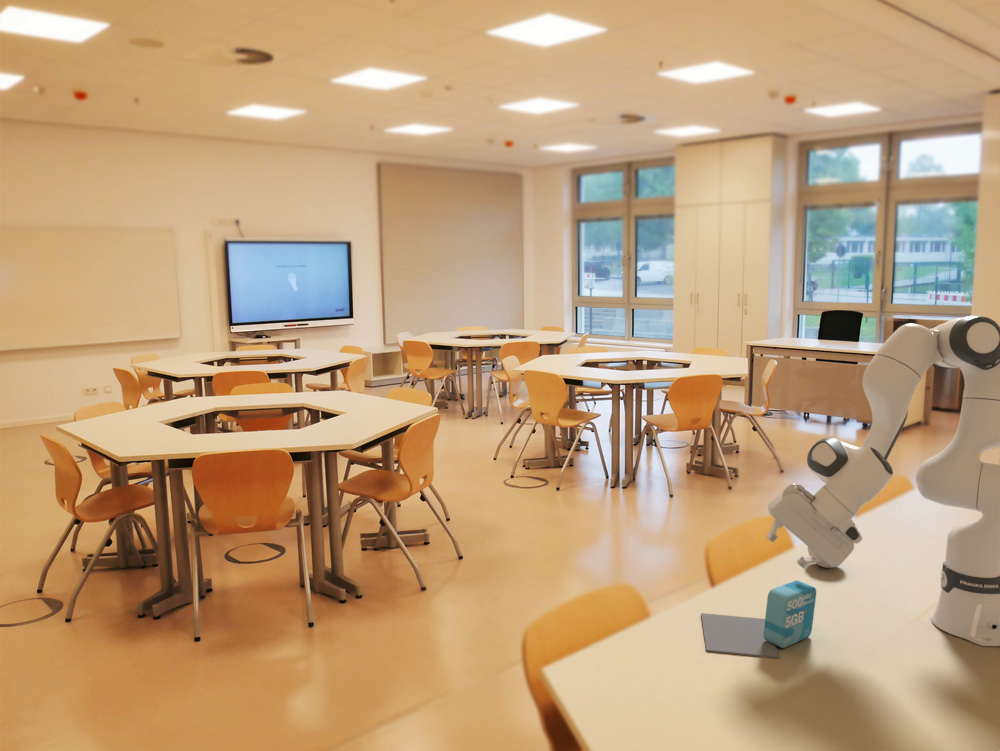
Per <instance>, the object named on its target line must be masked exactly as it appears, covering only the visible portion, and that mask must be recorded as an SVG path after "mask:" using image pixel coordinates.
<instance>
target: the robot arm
mask: <svg viewBox="0 0 1000 751" xmlns="http://www.w3.org/2000/svg"><path fill="white" fill-rule="evenodd" d="M931 367H934V368H939V369H945V370H946V369H959V370H960V371H961V373H962V376H963V380H964V389H963V393H962V401H961V409H960V415H959V419H958V425H957V428H956V431H955V433H954V436H953V437H952V439H951V441H950V442H949V443H948V445H947V446H945V448H943V449H942V450H941V451H940V452H939V453H937V454H936V455H933V456H932V457H929V458H927V459H926V460H925V461H923V462H922V463H921V465H919V467H918V469H917V471H916V475H915V484H916V488H917V491H918V492H919V495H921V496H922V498H924V499H926V500H929V501H931V502H934V503H937V504H940V505H943V506H946V507H954V508H959V509H965V510H971V511H972V510H973V511H977V512H980V513H981V515H982V516H981V517H980V518H979V519H977V520H974V521H969V522H964V523H961V524H958V525H956V526H954V527H952V528H951V529H950V531H949V532H948V533H947V538H946V545H945V546H946V549H945V556H944V557H945V560H944V562H943V563H942V567H941V573H940V588H941V590H940V593H939V598H938V601H937V605H936V608H935V610H934V612H933V613H932V614H933V615H932V616H931V622H932V623H933V625H934V626H936V627H937V628H938V629H940V630H941V631H944V632H946V633H948V634H949V635H953V636H956V637H959V638H961V639H965V640H967V641H970V642H971V643H974V644H975V645H978V646H982V647H1000V464H996V463H988V462H984V461H981V460H980V458H981V456H982V454H984V453H985V452H987V451H989V450H994V449H997V448H1000V325H999V324H998V323H997V321H996V320H993V319H991V318H990V317H988V316H987V317H986V316H984V315H983V316H982V315H967V316H965V317H958V318H952V319H950V320H947V321H946V322H944V323H941V324H936V325H933V326H931V327H927V326H924V325H922V324H918V323H911V322H910V323H905V324H902V325H900V326H899V327H898V328H897V329H895V330H894V332H892V334H891V335H889V337H888V338H887V339H886V340H885V341H884V342H883V344H882V345H881V346H880V348H879V349H878V350H877V351H876V353H874V356H873V357H872V359H871V360H870V362H869V363H868V365H867V366H866V368H865V370H864V372H863V375H862V379H861V380H862V381H861V382H862V384H861V385H862V389H863V393H864V396H865V397H866V399H867V401H868V404H869V407H870V411H871V415H872V416H871V417H872V418H871V419H872V420H871V426H870V429H869V431H868V432H867V435H866V436H865V438H864V440H863V443H862V444H861V446H855V445H854V444H853V445H852V444H849V443H847V442H845V441H843V440H840V439H837V438H835V437H825V438H822V439H820V440H817V441H816V442H815V443H814V444H813V445H812V446H811V448H810V449H809V451H808V453H807V458H806V462H807V467H809V469H810V471H812V473H813V474H814V475H815V476H817V477H818V478H819V479H820V480H821V481H822V482H823V483H824V485H823V486H822V487H821V488H820V489H819V490H817V492H815V493H814V494H812V493H811V492H809V491H808V490H806V489H805V487H804V486H803V485H801V484H796V483H791V484H789V485H788V486H787V487H786V488H784V490H783V492H781V493H779V495H777V496H776V497H775V498H774V499H772V500H771V501H770V502H769V503H768V504H767V511H768V513H769V514H770V516H772V517H773V518H774V520H773V521H772V524H771V529H770V530H769V531H768V532H767V533H766V534H765V537H766V538H767V540H769V541H770V542H772V543H774V542H775V540H777V539H778V538H779V536H778V535H777V531H778V529H782V528H783V527H785V529H787V530H788V531H789V532H790V533H792V534H793V535H794V536H795V537H796V538H797V539H799V540H800V541H801V542H802V543H803V544H805V545H806V547H807V548H808V547H809V548H810V549H812V550H813V551H814V552H813V553H812V555H813V556H810V555H809V556H808V557H804V556H801V557H800V558H799V559H798V560H797V564H798V566H800V567H801V568H802V569H805V568H807V567H808V566H809V565H811V564H816V562H819V561H820V560H821V559H823V560H825V561H826V562H827V563H828V564H829V565H831V566H832V567H833V568H835V567H834V566H837V567H839V566H840V565H842V564H843V563H842V562H844V561H845V560H846V559H848V557H849V556H850V555H851V554H852V552H853V551H854V549H855V544H859V543H860V542H861V541H862V540H863V536H862V534H861V532H860V531H859V530H858V527H857V526H856V523H855V522H854V521H853V518H854V517H855V516H856V515H857V514H858V513H859V511H860V509H861V508H862V507H863V506H864V505H866V504H868V503H870V502H871V501H872V500H873V499H875V498H876V496H878V495H879V494H880V493H881V492H882V491H883V490H884V489H885V488H886V486H887V485H888V484H889V482H890V481H891V480H892V477H893V475H894V472H893V468H892V465H891V464H890V462H888V458H889V456H890V455H891V452H892V449H893V448H894V447H895V444H896V442H897V440H898V439H899V436H900V434H901V432H902V430H903V428H904V426H905V424H906V421H907V418H908V414H909V407H910V403H911V400H912V398H913V395H914V393H915V391H916V389H917V387H918V386H919V383H920V382H921V381H922V379H923V378H924V375H925V374H926V373H927V372H928V370H929V369H930V368H931ZM841 563H842V564H841Z"/></svg>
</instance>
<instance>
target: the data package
mask: <svg viewBox="0 0 1000 751" xmlns="http://www.w3.org/2000/svg"><path fill="white" fill-rule="evenodd" d="M816 597H817V588H816V587H815V586H812V585H809V584H807V583H804V582H802V581H800V580H794V581H791V582H788V583H785V584H783V585H779V586H776V587H774V588H772V589H770V590H769V592H768V594H767V599H766V600H767V601H766V608H765V617H764V619H765V625H764V634H763V637H764V639H765V640H767V641H769V642H771V643H773V644H775V645H776V647H779V648H781V649H785V648H786V647H787V648H788V647H789V646H792V645H794V644H796V643H798V642H801V641H803V640H805V639H807V638H809V637H810V636H811V633H812V631H813V630H812V629H813V623H814V615H815V614H814V613H815V607H816V599H817V598H816Z"/></svg>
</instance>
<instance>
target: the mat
mask: <svg viewBox="0 0 1000 751" xmlns="http://www.w3.org/2000/svg"><path fill="white" fill-rule="evenodd" d="M700 617H701V623H702V629H703V638H704V643H705V651H706V652H708V653H709V652H710V653H720V654H729V655H730V654H731V655H738V656H749V657H761V658H770V659H781V658H780V655H779V652H778V651H779V650H778V649H777V645H775V644H773V643H771V642H769V641H767V640H765V639H764V637H763V634H764V625H765V618H761V617H760V618H758V617H749V616H737V615H727V614H725V615H723V614H712V613H704V612H701V614H700Z"/></svg>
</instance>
